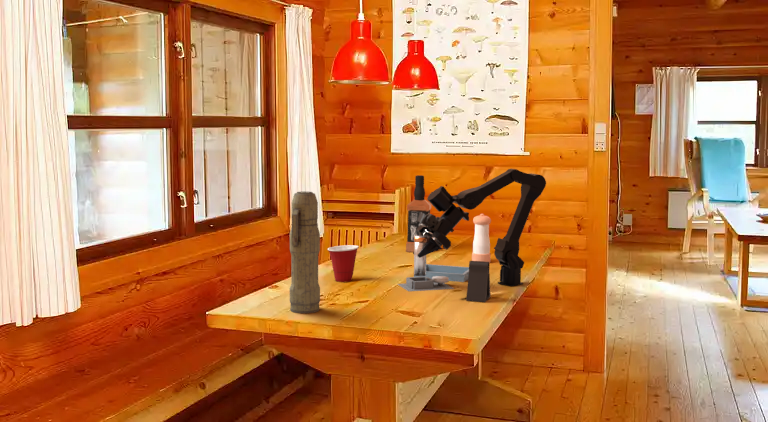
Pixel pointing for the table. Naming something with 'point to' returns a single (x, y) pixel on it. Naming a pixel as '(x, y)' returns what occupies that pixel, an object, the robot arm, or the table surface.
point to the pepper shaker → (481, 239)
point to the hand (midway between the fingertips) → (416, 255)
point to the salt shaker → (420, 262)
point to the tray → (447, 272)
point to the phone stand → (478, 282)
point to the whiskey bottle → (416, 211)
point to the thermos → (304, 254)
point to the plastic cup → (343, 261)
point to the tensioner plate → (426, 283)
